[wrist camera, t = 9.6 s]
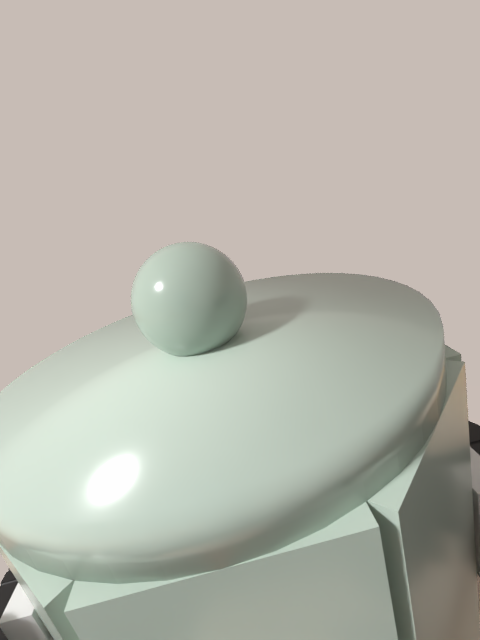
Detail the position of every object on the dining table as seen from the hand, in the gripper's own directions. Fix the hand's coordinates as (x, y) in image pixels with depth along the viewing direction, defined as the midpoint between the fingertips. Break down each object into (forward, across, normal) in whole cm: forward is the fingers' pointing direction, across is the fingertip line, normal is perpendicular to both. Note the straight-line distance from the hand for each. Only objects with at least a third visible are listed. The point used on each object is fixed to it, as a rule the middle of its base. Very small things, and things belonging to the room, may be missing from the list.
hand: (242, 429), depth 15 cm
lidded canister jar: (-4, 0, -6) cm, 8 cm away
